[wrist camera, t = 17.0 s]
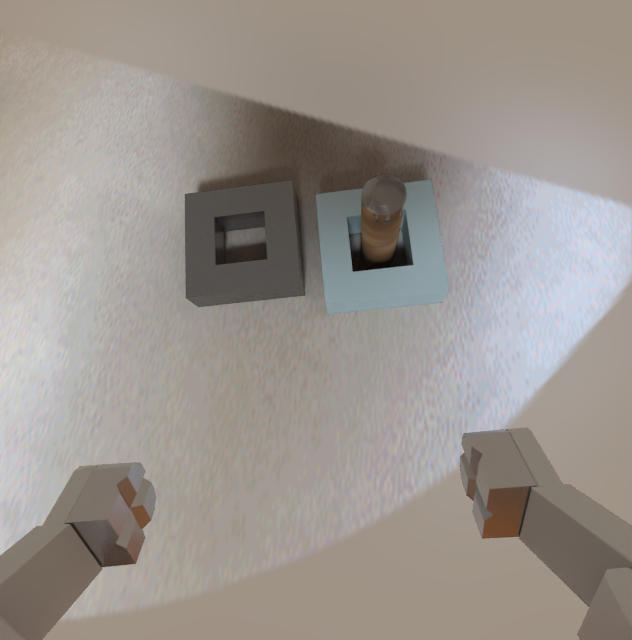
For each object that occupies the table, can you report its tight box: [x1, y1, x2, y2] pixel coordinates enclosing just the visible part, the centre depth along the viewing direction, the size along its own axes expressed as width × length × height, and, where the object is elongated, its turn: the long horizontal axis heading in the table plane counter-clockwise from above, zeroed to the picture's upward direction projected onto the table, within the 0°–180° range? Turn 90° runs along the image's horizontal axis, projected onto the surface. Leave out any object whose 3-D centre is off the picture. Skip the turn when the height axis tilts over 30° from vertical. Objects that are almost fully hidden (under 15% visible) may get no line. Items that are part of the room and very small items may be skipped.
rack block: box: [315, 180, 449, 314], centre depth 37 cm, size 10×10×4 cm
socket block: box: [185, 180, 305, 307], centre depth 39 cm, size 10×10×3 cm
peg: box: [361, 174, 407, 270], centre depth 34 cm, size 3×3×11 cm
